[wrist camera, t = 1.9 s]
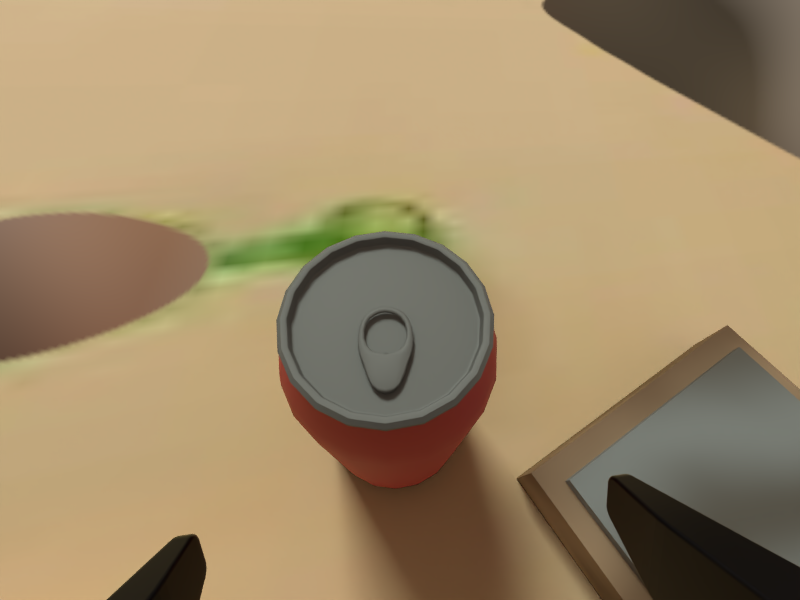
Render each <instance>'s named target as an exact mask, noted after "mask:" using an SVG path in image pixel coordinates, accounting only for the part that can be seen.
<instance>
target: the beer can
mask: <svg viewBox="0 0 800 600" xmlns="http://www.w3.org/2000/svg"><path fill="white" fill-rule="evenodd" d="M276 321H277V348H278V354H279V374H280V381H281V386H282V388H283V391H284V393H285V396H286V398H287V401H288V403H289V406H290V408H291V411H292V413H293V415H294V417H295V418H296V419H297V420H298V421H299V423H300V424H301V425H302V426H303V427H304V428H305V429H306V430H307V431H308V433H309V434H310V435H311V436H312V437H313V438H314V439H315V440H316V441H317V442H318V443H319V444H320V445H321V446H322V447H323V448H324V449H325V450H327V451H328V452H329V453H330V454H331V455H332V456H333V457H335V458H336V459H337V460H338V461H339V462H340V463H341V464H342V465H344V466H345V467H346V468H347V469H348V470H349V471H350V472H352V473H353V474H354V475H355V476H357V477H359V478H361V479H363V480H365V481H367V482H368V483H370V484H372V485H374V486H381V487H388V488H394V489H397V488H402V487H407V486H412V485H417V484H419V483H421V482H422V481H424V480H426V479H427V478H429V477H431V476H432V475H434V474H436V473H437V472H438V471H439V470H440V468H441V467H442V466H443V465H444V464H445V462H446V461H447V460H448V459H449V458H450V457H451V455H452V454H453V453H454V451H455V450H456V448H457V447H458V446H459V444H460V443H461V442H462V440H463V439H464V438H465V436H466V435H467V434H468V432H469V431H470V430H471V428H472V427H473V425H474V424H475V423H476V421H477V420H478V419H479V417H480V416H481V415H482V413H483V412H484V410H485V407H486V404H487V402H488V399H489V397H490V394H491V391H492V389H493V386H494V383H495V381H496V356H497V340H496V335H495V331H494V314H493V311H492V307H491V304H490V301H489V298H488V295H487V292H486V289H485V286H484V285H483V284H482V282H481V281H480V280H479V278H478V277H477V276H476V274H475V273H474V272H473V270H472V269H471V268H470V266H469V265H468V264H467V262H465V261H464V260H463V259H461V258H460V257H459V256H457V255H456V254H454V253H453V252H452V251H450V250H449V249H448V248H446V247H445V246H444V245H442V244H439V243H436V242H434V241H431V240H428V239H426V238H423V237H420V236H418V235H415V234H406V233H396V232H386V231H384V232H377V233H370V234H364V235H357V236H353V237H351V238H349V239H346V240H344V241H342V242H339V243H337V244H335V245H332V246H330V247H327V248H326V249H325V250H323V251H322V252H321V253H320V254H318V255H317V256H316V257H315V258H313V259H312V260H311V261H310V262H308V263H307V264H306V265H304V266H303V268H302V269H301V270H300V272H299V273H298V275H297V276H296V277H295V279H294V280H293V282H292V283H291V284H290V286H289V287H288V289H287V290H286V292H285V295H284V298H283V301H282V304H281V308H280V311H279V314H278V317H277V320H276Z"/></svg>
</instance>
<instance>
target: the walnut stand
mask: <svg viewBox="0 0 800 600" xmlns="http://www.w3.org/2000/svg"><path fill="white" fill-rule="evenodd" d="M621 474H630V475H632V476H634V477H636V478H638V479H639V480H641V481H643V482H645V483H647V484H649V485H650V486H652V487H654V488H656V489H658V490H660V491H661V492H663V493H665V494H667V495H669V496H671V497H672V498H674V499H676V500H678V501H680V502H682V503H683V504H685V505H687V506H689V507H691V508H693V509H695V510H696V511H698V512H700V513H702V514H704V515H706V516H707V517H709V518H711V519H713V520H715V521H717V522H718V523H720V524H722V525H724V526H726V527H728V528H729V529H731V530H733V531H735V532H737V533H739V534H740V535H742V536H744V537H746V538H748V539H750V540H751V541H753V542H755V543H757V544H759V545H761V546H763V547H764V548H766V549H768V550H770V551H772V552H774V553H775V554H777V555H779V556H781V557H783V558H785V559H786V560H788V561H790V562H792V563H794V564H796V565H797V566H799V567H800V389H799V388H798V387H797V386H796V385H794V384H793V383H792V382H791V381H790V380H789V379H788V378H787V377H785V376H784V375H783V374H782V373H781V372H780V371H779V370H778V369H776V368H775V367H774V366H773V365H772V364H771V363H770V362H768V361H767V360H766V359H765V358H764V357H763V356H762V355H761V354H759V353H758V352H757V351H756V350H755V349H754V348H753V347H751V346H750V345H749V344H748V343H747V342H746V341H745V340H744V339H742V338H741V337H740V336H739V335H738V334H737V333H736V332H735V331H733V330H732V329H731V328H730V327H729V326H728V325H727V326H725V327H724V328H722V329H720V330H719V331H717V332H715V333H714V334H712V335H710V336H709V337H707V338H705V339H704V340H702V341H700V342H699V343H697V344H695V345H694V346H693V347H691V348H690V349H689V350H687V351H686V352H685V353H683V354H682V355H681V356H679V357H678V358H677V359H675V360H674V361H673V362H671V363H670V364H669V365H667V366H666V367H665V368H663V369H662V370H661V371H659V372H658V373H657V374H655V375H654V376H653V377H651V378H650V379H649V380H647V381H646V382H645V383H643V384H642V385H641V386H639V387H638V388H637V389H635V390H634V391H633V392H631V393H630V394H629V395H627V396H626V397H625V398H623V399H622V400H621V401H619V402H618V403H617V404H615V405H614V406H613V407H611V408H610V409H609V410H607V411H606V412H605V413H603V414H602V415H601V416H599V417H598V418H597V419H595V420H594V421H593V422H591V423H590V424H589V425H587V426H586V427H585V428H583V429H582V430H581V431H579V432H578V433H577V434H575V435H574V436H573V437H571V438H570V439H569V440H567V441H566V442H565V443H563V444H562V445H560V446H559V447H558V448H556V449H555V450H554V451H552V452H551V453H550V454H548V455H547V456H546V457H544V458H543V459H542V460H540V461H539V462H538V463H536V464H535V465H534V466H532V467H531V468H530V469H528V470H527V471H526V472H524V473H523V474H522V475H520V476H519V477H518V478H517V479H518V481H519V482H520V483H521V485H522V486H523V488H524V489H525V491H526V492H527V493H528V495H529V496H530V498H531V499H532V501H533V502H534V503H535V505H536V506H537V508H538V509H539V510H540V512H541V513H542V515H543V516H544V518H545V519H546V520H547V522H548V523H549V525H550V526H551V527H552V529H553V530H554V532H555V533H556V535H557V536H558V537H559V539H560V540H561V542H562V543H563V545H564V546H565V547H566V549H567V550H568V552H569V553H570V554H571V556H572V557H573V559H574V560H575V562H576V563H577V564H578V566H579V567H580V569H581V570H582V571H583V573H584V574H585V576H586V577H587V579H588V580H589V581H590V583H591V584H592V586H593V587H594V589H595V590H596V591H597V593H598V594H599V596H600V597H601V598H602V600H653V599H652V597H651V596H650V594H649V592H648V591H647V589H646V587H645V585H644V583H643V581H642V580H641V578H640V576H639V574H638V572H637V570H636V568H635V566H634V564H633V562H632V560H631V558H630V556H629V554H628V552H627V550H626V548H625V547H624V545H623V543H622V541H621V539H620V537H619V535H618V533H617V531H616V529H615V527H614V525H613V523H612V521H611V519H610V517H609V515H608V512H607V506H606V503H607V489H608V480H609V478H610V477H611V476H613V475H621Z"/></svg>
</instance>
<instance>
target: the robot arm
mask: <svg viewBox="0 0 800 600" xmlns="http://www.w3.org/2000/svg"><path fill="white" fill-rule="evenodd" d="M606 506H607V512H608V515H609V517H610V519H611V521H612V523H613V525H614V527H615V529H616V531H617V533H618V535H619V537H620V539H621V541H622V543H623V545H624V547H625V548H626V550H627V552H628V554H629V556H630V558H631V560H632V562H633V564H634V566H635V568H636V570H637V572H638V574H639V576H640V578H641V580H642V581H643V583H644V585H645V587H646V589H647V591H648V592H649V594H650V596H651V597H652V599H653V600H800V567H799V566H797V565H796V564H794V563H792V562H790V561H788V560H786V559H785V558H783V557H781V556H779V555H777V554H775V553H774V552H772V551H770V550H768V549H766V548H764V547H763V546H761V545H759V544H757V543H755V542H753V541H751V540H750V539H748V538H746V537H744V536H742V535H740V534H739V533H737V532H735V531H733V530H731V529H729V528H728V527H726V526H724V525H722V524H720V523H718V522H717V521H715V520H713V519H711V518H709V517H707V516H706V515H704V514H702V513H700V512H698V511H696V510H695V509H693V508H691V507H689V506H687V505H685V504H683V503H682V502H680V501H678V500H676V499H674V498H672V497H671V496H669V495H667V494H665V493H663V492H661V491H660V490H658V489H656V488H654V487H652V486H650V485H649V484H647V483H645V482H643V481H641V480H639V479H638V478H636V477H634V476H632V475H630V474H621V475H613V476H611V477H610V478H609V480H608V489H607V503H606ZM205 576H206V561H205V558H204V554H203V551H202V548H201V544H200V541H199V538H198V537H197V535H195V534H189V535H182V536H177V537H175V538H173V539H172V540H171V541H170V542H169V543H168V544H166V545H165V546H164V547H163V548H162V549H161V550H160V551H159V552H158V553H157V554H156V555H155V556H153V557H152V558H151V559H150V560H149V561H148V562H147V563H146V564H145V565H144V566H143V567H142V568H140V569H139V570H138V571H137V572H136V573H135V574H134V575H133V576H132V577H131V578H130V579H129V580H128V581H126V582H125V583H124V584H123V585H122V586H121V587H120V588H119V589H118V590H117V591H116V592H115V593H113V594H112V595H111V596H110V597H109V598H108V599H107V600H200V597H201V593H202V589H203V584H204V580H205Z"/></svg>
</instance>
